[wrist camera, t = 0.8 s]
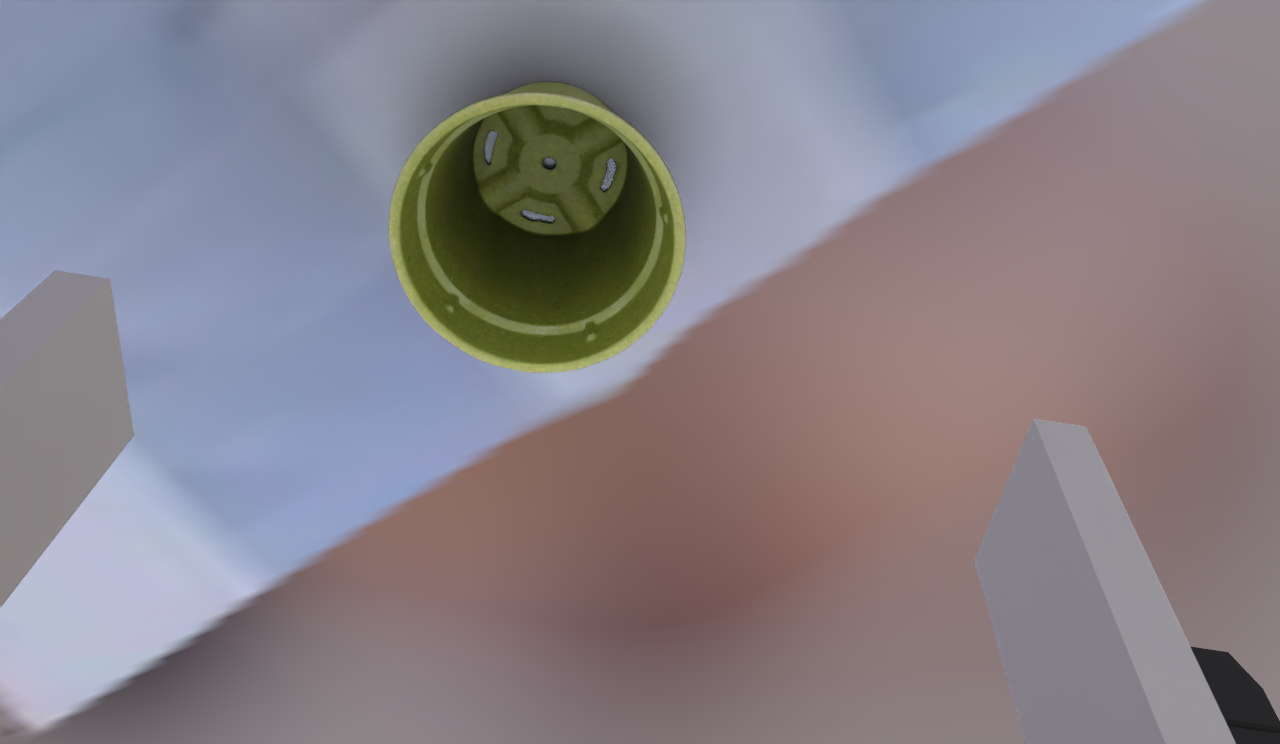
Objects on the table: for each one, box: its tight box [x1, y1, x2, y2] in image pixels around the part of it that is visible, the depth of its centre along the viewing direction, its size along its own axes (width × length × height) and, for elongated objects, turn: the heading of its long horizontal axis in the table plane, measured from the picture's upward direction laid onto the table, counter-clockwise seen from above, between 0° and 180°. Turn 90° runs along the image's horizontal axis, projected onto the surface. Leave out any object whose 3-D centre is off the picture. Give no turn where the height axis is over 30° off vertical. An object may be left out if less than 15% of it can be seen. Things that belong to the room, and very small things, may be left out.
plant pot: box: [389, 82, 686, 373], centre depth 38 cm, size 9×9×9 cm
